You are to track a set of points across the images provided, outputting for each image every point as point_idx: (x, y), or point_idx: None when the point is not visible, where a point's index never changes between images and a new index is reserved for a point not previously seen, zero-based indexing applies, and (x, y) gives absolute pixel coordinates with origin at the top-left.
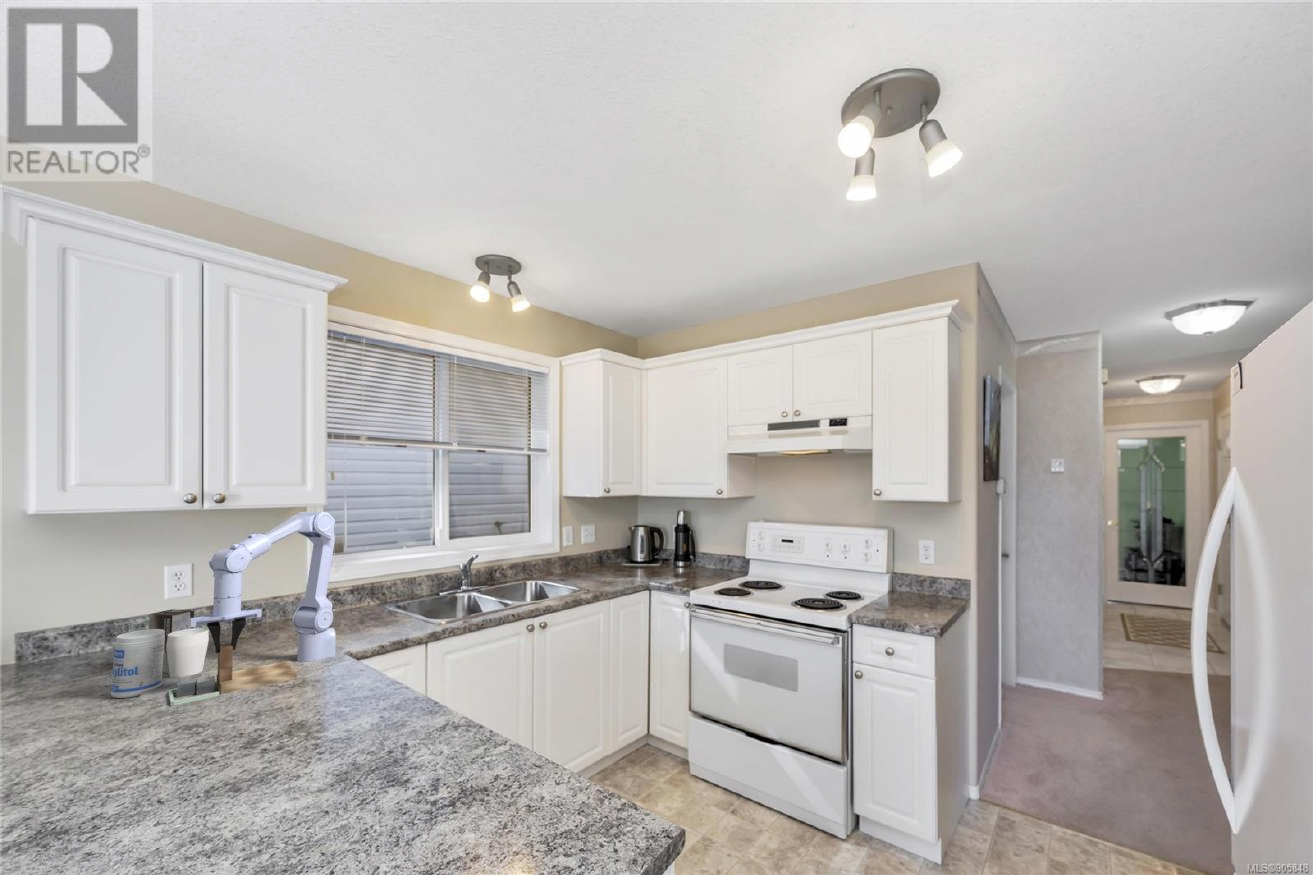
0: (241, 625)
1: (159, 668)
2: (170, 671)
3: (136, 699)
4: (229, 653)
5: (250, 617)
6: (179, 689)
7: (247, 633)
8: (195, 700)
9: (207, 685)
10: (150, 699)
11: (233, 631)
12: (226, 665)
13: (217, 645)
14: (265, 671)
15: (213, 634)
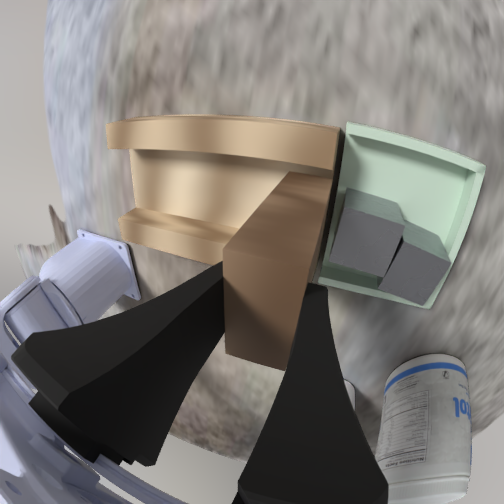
0: (48, 347)
1: (404, 406)
2: (354, 407)
3: (457, 337)
4: (260, 230)
5: (23, 389)
6: (440, 251)
7: (209, 438)
8: (420, 140)
9: (368, 207)
10: (449, 314)
11: (158, 373)
12: (294, 203)
13: (317, 319)
14: (180, 224)
15: (344, 422)
